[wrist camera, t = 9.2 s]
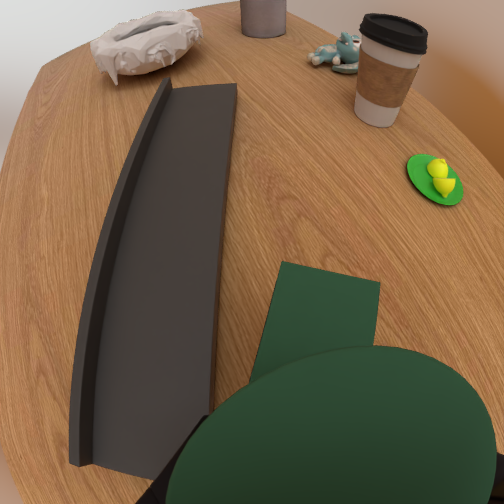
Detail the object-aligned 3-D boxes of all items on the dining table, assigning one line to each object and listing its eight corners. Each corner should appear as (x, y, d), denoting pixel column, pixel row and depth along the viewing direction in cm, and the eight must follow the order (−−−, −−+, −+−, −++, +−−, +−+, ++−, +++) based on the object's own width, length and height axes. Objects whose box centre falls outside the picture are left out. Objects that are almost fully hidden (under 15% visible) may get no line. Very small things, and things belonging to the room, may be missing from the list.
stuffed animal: (292, 29, 40) (350, 19, 39) (298, 61, 46) (352, 49, 46) (323, 51, 35) (386, 40, 35) (326, 88, 42) (384, 74, 41)
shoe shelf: (213, 480, 17) (202, 497, 13) (97, 457, 18) (68, 463, 14) (237, 97, 38) (235, 70, 34) (169, 102, 38) (163, 77, 34)
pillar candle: (241, 26, 54) (238, -28, 41) (283, 25, 54) (284, -29, 41) (241, 39, 50) (237, -23, 36) (289, 38, 49) (290, -24, 36)
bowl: (119, 57, 51) (108, 21, 42) (208, 39, 51) (203, -1, 42) (88, 106, 41) (68, 60, 32) (202, 82, 41) (193, 27, 32)
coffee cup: (413, 131, 34) (445, 40, 21) (364, 136, 33) (390, 30, 20) (381, 97, 38) (401, 14, 25) (334, 100, 37) (348, 6, 24)
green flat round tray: (470, 206, 28) (481, 192, 26) (422, 210, 28) (432, 194, 25) (443, 158, 32) (451, 143, 29) (395, 156, 32) (402, 140, 29)
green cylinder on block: (323, 482, 12) (437, 604, 1) (225, 463, 13) (130, 586, 2) (363, 303, 17) (481, 144, 6) (276, 284, 18) (289, 89, 7)
